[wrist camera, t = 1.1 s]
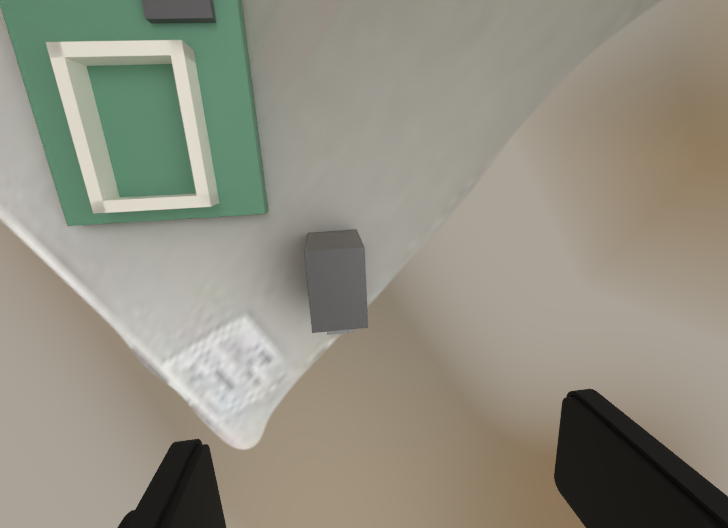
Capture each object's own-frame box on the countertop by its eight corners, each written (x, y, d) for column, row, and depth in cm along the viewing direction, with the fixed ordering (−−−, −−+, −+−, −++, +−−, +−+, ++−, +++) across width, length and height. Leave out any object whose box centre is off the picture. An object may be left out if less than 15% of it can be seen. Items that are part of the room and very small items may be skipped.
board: (-4, -71, 21) (-66, -114, 18) (232, -68, 22) (216, -108, 19) (81, 222, 26) (46, 231, 23) (268, 210, 28) (260, 218, 24)
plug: (308, 232, 29) (304, 251, 23) (356, 229, 29) (364, 247, 23) (315, 308, 31) (313, 342, 25) (360, 304, 31) (368, 337, 25)
